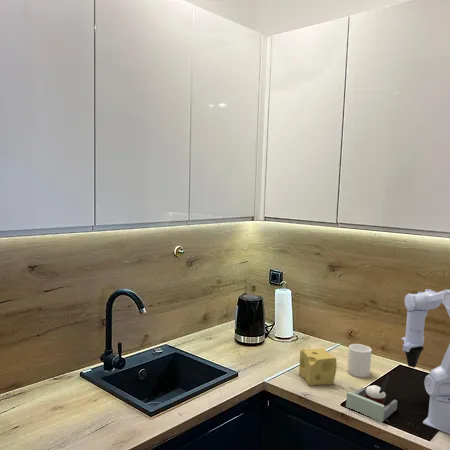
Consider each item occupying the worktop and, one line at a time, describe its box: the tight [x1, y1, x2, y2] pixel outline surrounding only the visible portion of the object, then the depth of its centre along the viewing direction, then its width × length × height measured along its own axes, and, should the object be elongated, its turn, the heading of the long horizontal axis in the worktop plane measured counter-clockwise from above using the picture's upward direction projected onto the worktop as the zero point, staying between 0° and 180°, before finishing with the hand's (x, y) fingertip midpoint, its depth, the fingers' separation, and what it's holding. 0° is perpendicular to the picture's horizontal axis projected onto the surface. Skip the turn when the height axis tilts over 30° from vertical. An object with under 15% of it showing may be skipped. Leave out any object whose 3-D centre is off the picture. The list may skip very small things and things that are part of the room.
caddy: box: [345, 387, 398, 423], centre depth 140 cm, size 12×11×5 cm
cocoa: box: [365, 374, 391, 405], centre depth 142 cm, size 10×6×12 cm, turn 3°
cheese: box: [298, 348, 337, 387], centre depth 160 cm, size 10×11×10 cm
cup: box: [347, 343, 372, 379], centre depth 168 cm, size 8×12×10 cm
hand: (411, 366), depth 149 cm, fingers closed
